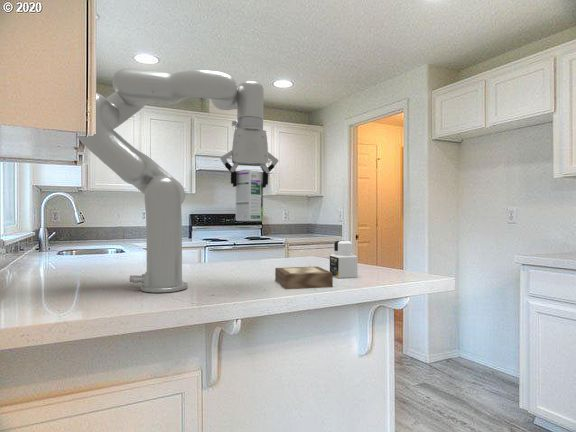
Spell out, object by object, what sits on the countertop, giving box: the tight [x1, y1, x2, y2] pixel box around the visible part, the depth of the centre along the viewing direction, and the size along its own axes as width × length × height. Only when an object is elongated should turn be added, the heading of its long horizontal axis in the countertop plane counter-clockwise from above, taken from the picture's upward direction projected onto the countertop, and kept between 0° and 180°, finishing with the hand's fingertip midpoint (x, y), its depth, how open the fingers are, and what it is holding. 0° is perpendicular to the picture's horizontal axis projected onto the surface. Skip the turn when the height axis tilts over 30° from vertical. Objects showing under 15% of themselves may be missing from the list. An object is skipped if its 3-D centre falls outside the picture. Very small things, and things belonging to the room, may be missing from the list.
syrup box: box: [235, 169, 264, 222], centre depth 113 cm, size 6×6×14 cm
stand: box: [274, 266, 334, 290], centre depth 118 cm, size 14×14×4 cm
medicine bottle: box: [329, 240, 358, 279], centre depth 131 cm, size 7×7×12 cm
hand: (249, 186), depth 113 cm, fingers closed on syrup box, 8 cm apart
